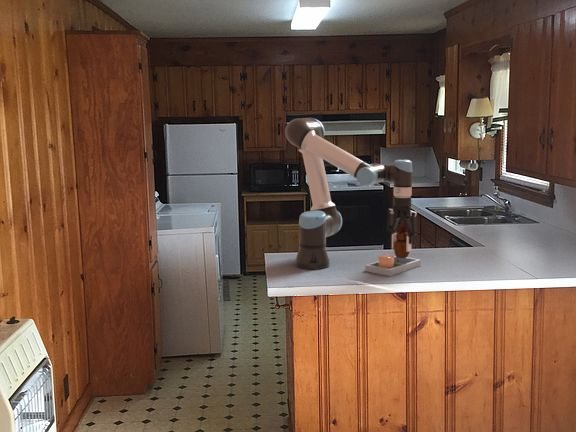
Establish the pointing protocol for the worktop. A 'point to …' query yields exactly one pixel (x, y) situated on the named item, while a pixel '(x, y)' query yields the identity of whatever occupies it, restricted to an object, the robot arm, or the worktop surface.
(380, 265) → the orange square block
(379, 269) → the gray tray
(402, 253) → the wooden figurine
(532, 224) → the worktop surface
